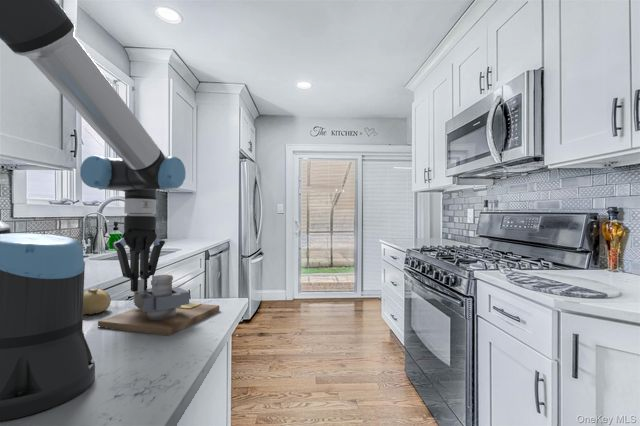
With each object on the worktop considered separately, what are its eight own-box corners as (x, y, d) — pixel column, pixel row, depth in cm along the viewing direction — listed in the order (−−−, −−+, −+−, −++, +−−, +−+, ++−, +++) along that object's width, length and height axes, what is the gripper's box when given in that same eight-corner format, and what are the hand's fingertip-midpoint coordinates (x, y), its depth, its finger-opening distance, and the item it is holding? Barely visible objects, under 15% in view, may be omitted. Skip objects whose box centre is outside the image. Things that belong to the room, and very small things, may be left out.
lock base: (168, 335, 72) (169, 283, 72) (97, 327, 77) (98, 278, 77) (219, 310, 91) (219, 269, 91) (159, 305, 96) (160, 266, 97)
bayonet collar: (190, 313, 80) (191, 292, 80) (144, 322, 73) (144, 299, 73) (168, 300, 93) (168, 282, 93) (127, 306, 86) (127, 287, 86)
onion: (67, 316, 86) (68, 289, 86) (95, 308, 94) (95, 283, 94) (92, 318, 84) (92, 291, 84) (117, 310, 92) (118, 285, 92)
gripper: (120, 214, 80) (118, 310, 80) (170, 215, 91) (169, 300, 90) (108, 214, 85) (105, 305, 84) (157, 215, 95) (155, 296, 94)
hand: (138, 303), depth 87 cm, fingers closed
